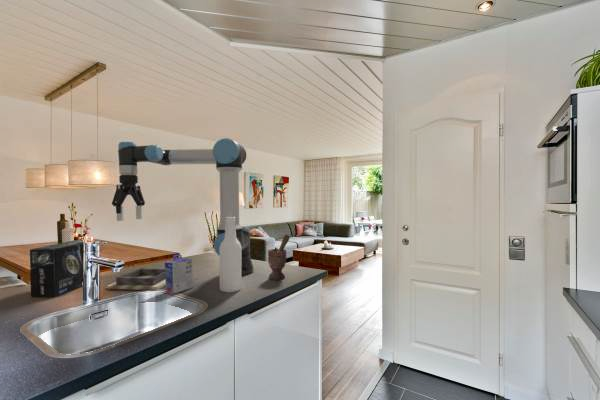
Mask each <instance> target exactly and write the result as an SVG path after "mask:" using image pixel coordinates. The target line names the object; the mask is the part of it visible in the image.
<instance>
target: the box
mask: <svg viewBox="0 0 600 400" xmlns="http://www.w3.org/2000/svg"><path fill="white" fill-rule="evenodd" d="M83 240H84V239H75V240H69V241H65V242H60V243H59V242H58V243H55V244H50V245H46V246H40V247H39V246H38V247H35V248H30V249H29V268H30V269H29V273H30V275H29V277H30V278H29V279H30V297H31V298H59V297H60V296H63V295H65V294H67V293H70V292H73V291H74V290H77V289H80V288H82V287H83V286H82V282H83Z"/></svg>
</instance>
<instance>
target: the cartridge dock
mask: <svg viewBox="0 0 600 400" xmlns="http://www.w3.org/2000/svg"><path fill="white" fill-rule="evenodd" d="M115 278H116V279H115V282H113V283H111V284H109V285H107V286H106V289H108V290H115V289H116V290H139V291H141V290H146V291H150V290H151V291H152V290H153V291H157V290H158V291H159V290H160V289H161V288H163V287H166V278H165V268H151V267H149V268H147V267H146V268H145V267H142V268H138V269H135V270H132V271H129V272H126V273H125V274H122V275H120V276H117V277H115Z"/></svg>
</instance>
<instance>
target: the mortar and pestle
mask: <svg viewBox="0 0 600 400" xmlns="http://www.w3.org/2000/svg"><path fill="white" fill-rule="evenodd" d="M289 240H290V235H288V234H284V236H283V237H282V240H281V244H280V246H279V248H272V249H271V248H270V249H268V250H267V261H268V265H269V268H270V269H271V273H269V276H268V279H269V280H275V281H277V280H278V281H279V280H283V279H285V278H286V277H285V274H284V273H283V269H284V268H285V266H286V262H287V250H286V249H285V248H286V245H287V244H288V242H289Z"/></svg>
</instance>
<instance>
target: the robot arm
mask: <svg viewBox="0 0 600 400" xmlns="http://www.w3.org/2000/svg"><path fill="white" fill-rule="evenodd" d="M117 146H118V149H117V153H118V174H119V175H118V178H119V179H118V180H119V183H118V184H116V186H115V187H116V190H115V192H114V195H113V199H112V202H111V205H112V206H113V207H115V213H116V222H121V221H122V222H123V221H124V220H125V219H124V218H125V217H124V206H123V204H124V203H125V200H126V198H127V197H128V195H130V196H131V197H132V199H133V201H134V202H135V204H136V205H135V218H136V220H142V219H143V206H145V204H146V202H145V199H144V196H143V193H142V190H141V185H136V184H138V183H139V176H138V174H139V173H138V163H152V164H158V165H161V166H170V165H215V167H216V168H215V170H216V171H217V172H219V214H220V215H219V216H220V217H219V218H220V219H219V221H220V222H219V225H218V226H217V228H216V237H215V239H214V241H213V249H214V251H215V253H216V255H218V256H219V257H220V250H219V248H220V244H221V243H222V242H223V240H224V238H225V226H226V221H225V220H226V217H235V228H236V238H237V240H238V241H239V242H240V244H241V276H245V275H250V274H252V273H253V272H254V265H253V262H252V259H251V231H250V230H251V229H250V228H249V227H248V226H242V225H241V224H240V175H239V174H240V172H241V171H242V170H243V164H244V163H246V160H247V151H246V148H244V146H243V145H242V144H240V143H238V142H237V141H236V140H235V139H231V138H227V137H225V138H221V139H219V140H217V141H216V143H214V144H213V147H212V148H203V149H202V148H201V149H200V148H199V149H195V148H194V149H193V148H192V149H162V147H160V145H157V144H155V145H154V144H150V145H137V144H136V142H134V141H133V142H132V141H120V142H119V143H118V145H117Z"/></svg>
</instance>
